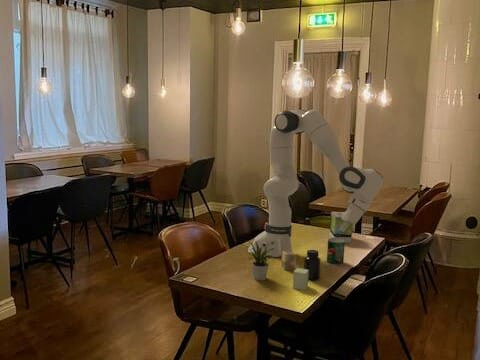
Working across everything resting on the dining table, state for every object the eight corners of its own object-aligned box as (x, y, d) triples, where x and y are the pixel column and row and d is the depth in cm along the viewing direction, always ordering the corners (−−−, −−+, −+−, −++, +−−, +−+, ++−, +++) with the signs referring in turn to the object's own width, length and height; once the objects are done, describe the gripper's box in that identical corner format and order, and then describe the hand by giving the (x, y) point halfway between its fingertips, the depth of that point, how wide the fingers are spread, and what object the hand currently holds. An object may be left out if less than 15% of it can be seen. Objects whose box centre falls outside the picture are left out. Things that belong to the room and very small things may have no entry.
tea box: (351, 243, 262) (353, 217, 259) (333, 243, 262) (335, 216, 260) (346, 236, 276) (348, 211, 274) (329, 236, 277) (330, 210, 275)
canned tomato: (346, 263, 228) (348, 240, 226) (337, 266, 222) (338, 243, 221) (332, 258, 233) (334, 237, 232) (323, 262, 228) (324, 239, 226)
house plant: (233, 278, 202) (234, 240, 200) (250, 269, 213) (252, 234, 211) (262, 286, 194) (264, 247, 192) (279, 276, 206) (280, 240, 203)
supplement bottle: (308, 274, 210) (310, 247, 208) (322, 278, 206) (324, 251, 204) (300, 278, 205) (301, 251, 203) (314, 282, 201) (315, 254, 199)
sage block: (292, 288, 193) (293, 271, 192) (295, 284, 198) (296, 268, 197) (304, 290, 191) (305, 273, 190) (307, 286, 196) (308, 269, 195)
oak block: (284, 269, 215) (284, 254, 214) (281, 266, 220) (282, 251, 219) (295, 269, 216) (295, 254, 215) (292, 265, 221) (292, 251, 220)
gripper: (348, 200, 219) (332, 225, 219) (356, 200, 198) (338, 228, 198) (360, 207, 218) (344, 233, 218) (369, 208, 198) (351, 236, 198)
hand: (341, 231), depth 208 cm, fingers closed
